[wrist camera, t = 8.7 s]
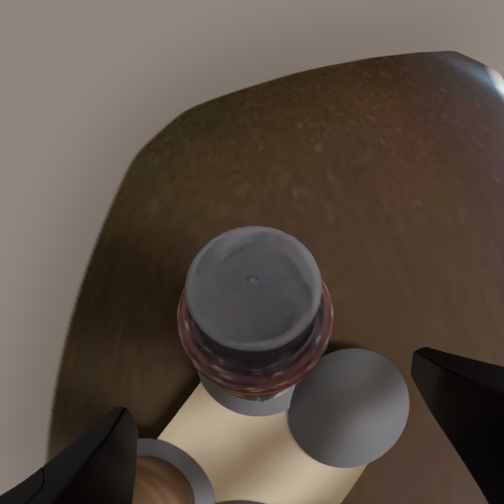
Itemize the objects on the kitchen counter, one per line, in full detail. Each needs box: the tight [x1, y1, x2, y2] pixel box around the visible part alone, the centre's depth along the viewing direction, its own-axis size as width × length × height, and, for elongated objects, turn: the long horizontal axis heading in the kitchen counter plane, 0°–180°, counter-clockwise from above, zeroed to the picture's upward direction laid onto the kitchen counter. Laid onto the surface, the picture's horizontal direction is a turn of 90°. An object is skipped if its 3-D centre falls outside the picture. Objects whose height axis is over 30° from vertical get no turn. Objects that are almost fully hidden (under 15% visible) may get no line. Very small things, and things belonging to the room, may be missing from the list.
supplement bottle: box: [177, 226, 333, 402], centre depth 13 cm, size 6×6×11 cm
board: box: [132, 348, 409, 504], centre depth 13 cm, size 15×20×7 cm
